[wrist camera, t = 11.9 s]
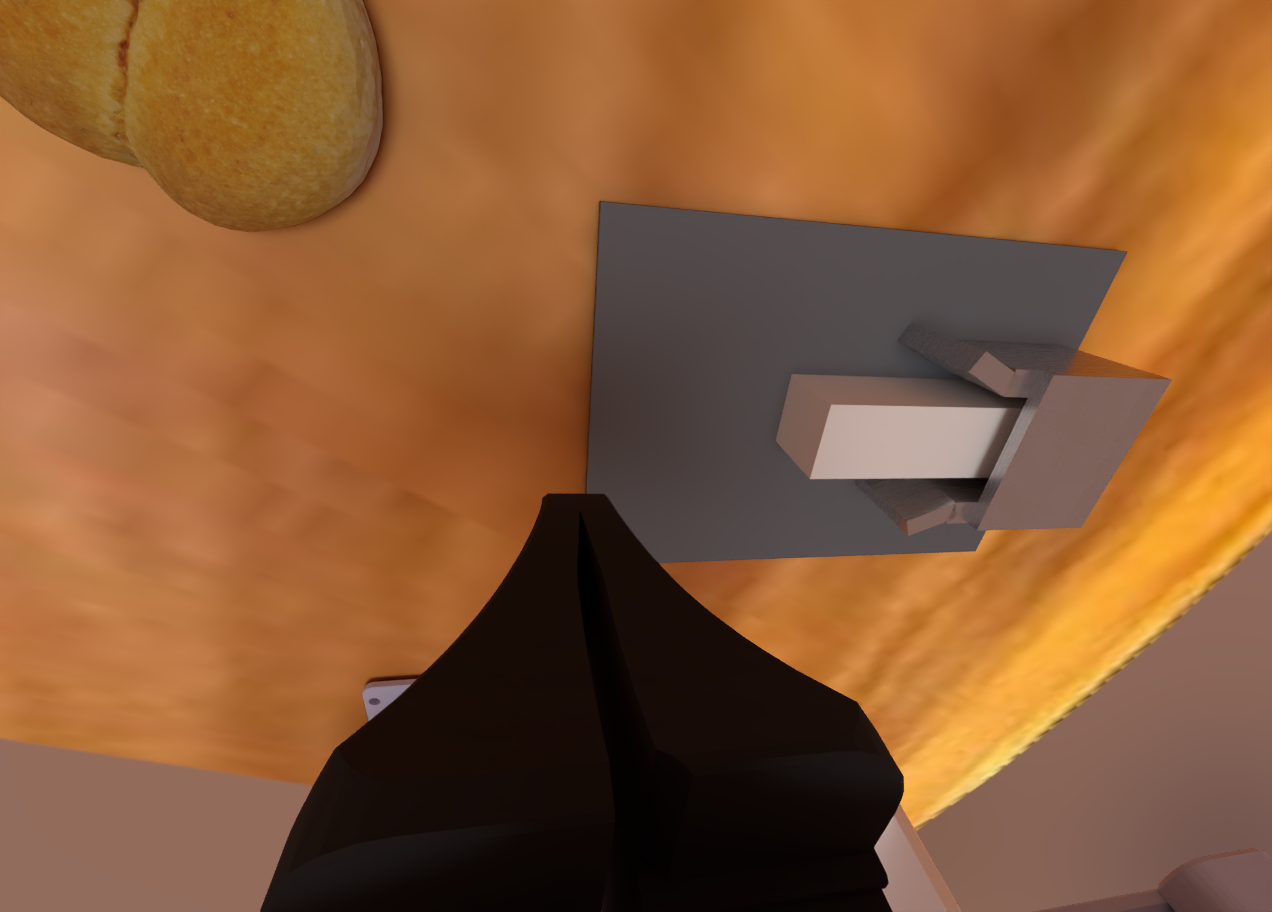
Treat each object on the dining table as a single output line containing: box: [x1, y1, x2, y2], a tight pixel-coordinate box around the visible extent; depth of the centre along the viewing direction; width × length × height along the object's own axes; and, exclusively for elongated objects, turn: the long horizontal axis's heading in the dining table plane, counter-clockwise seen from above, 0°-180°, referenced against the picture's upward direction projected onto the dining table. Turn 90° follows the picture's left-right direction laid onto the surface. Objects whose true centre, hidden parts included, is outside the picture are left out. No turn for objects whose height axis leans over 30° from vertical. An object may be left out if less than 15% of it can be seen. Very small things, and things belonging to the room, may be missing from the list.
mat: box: [586, 201, 1127, 563], centre depth 22 cm, size 15×21×1 cm
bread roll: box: [0, 0, 383, 232], centre depth 12 cm, size 8×9×4 cm
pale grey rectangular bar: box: [776, 374, 1028, 479], centre depth 20 cm, size 11×3×3 cm, turn 85°
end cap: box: [855, 323, 1172, 536], centre depth 20 cm, size 8×8×4 cm
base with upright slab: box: [874, 804, 961, 912], centre depth 29 cm, size 9×9×12 cm
